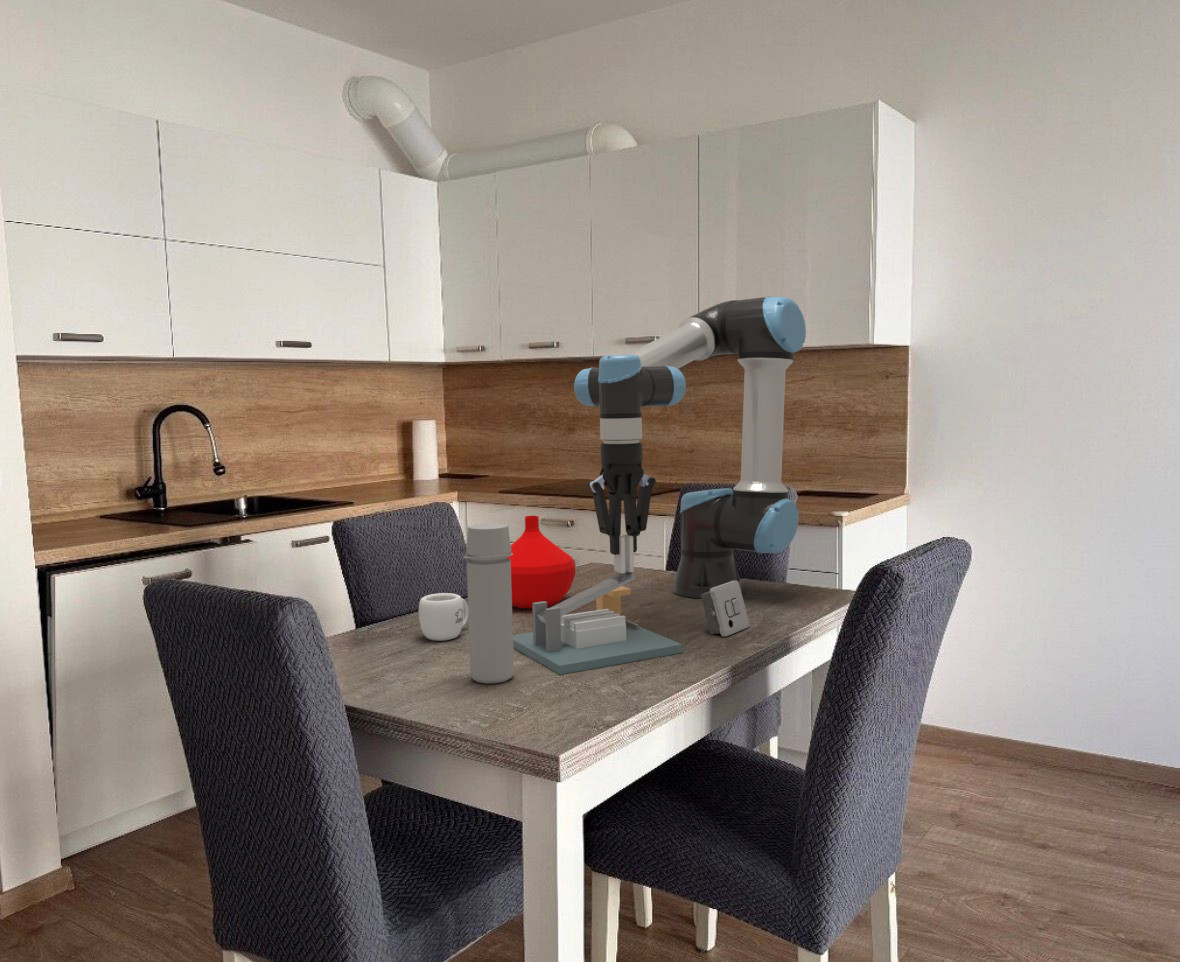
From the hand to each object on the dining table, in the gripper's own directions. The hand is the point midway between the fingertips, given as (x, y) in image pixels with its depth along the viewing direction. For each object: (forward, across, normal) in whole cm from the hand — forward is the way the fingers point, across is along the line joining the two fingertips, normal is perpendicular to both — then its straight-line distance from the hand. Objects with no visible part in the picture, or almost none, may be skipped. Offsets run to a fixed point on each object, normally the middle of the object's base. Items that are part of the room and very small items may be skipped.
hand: (624, 571), depth 174 cm
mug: (+14, +26, -23) cm, 37 cm away
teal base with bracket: (+13, +7, 0) cm, 15 cm away
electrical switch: (+14, -20, +3) cm, 25 cm away
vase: (+14, +1, -38) cm, 40 cm away
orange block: (+12, -1, -6) cm, 13 cm away
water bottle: (+13, +29, +6) cm, 32 cm away
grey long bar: (+4, +8, 0) cm, 9 cm away
